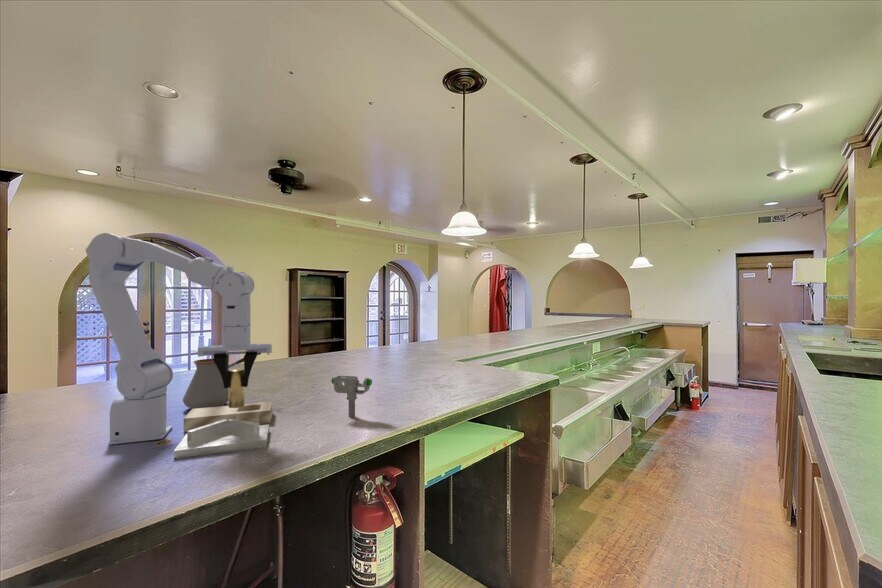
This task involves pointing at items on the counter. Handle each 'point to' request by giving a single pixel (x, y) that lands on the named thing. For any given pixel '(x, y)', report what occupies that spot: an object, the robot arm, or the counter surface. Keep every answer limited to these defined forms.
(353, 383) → the mechanical component
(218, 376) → the coffee pot
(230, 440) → the v-block
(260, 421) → the beam
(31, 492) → the counter surface
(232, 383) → the axle
